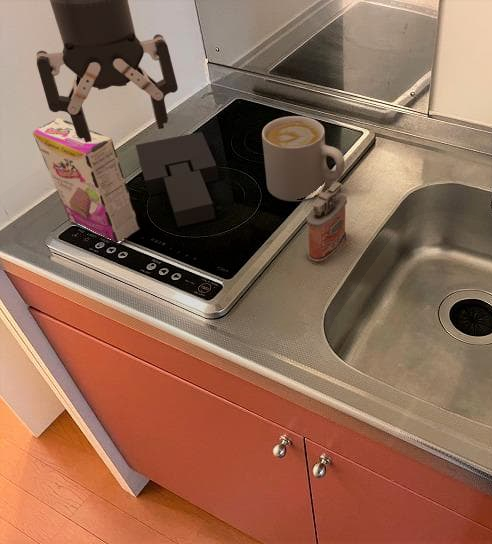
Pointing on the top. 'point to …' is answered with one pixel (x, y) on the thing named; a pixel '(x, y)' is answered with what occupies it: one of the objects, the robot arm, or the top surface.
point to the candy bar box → (88, 179)
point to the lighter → (327, 225)
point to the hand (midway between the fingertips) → (124, 132)
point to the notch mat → (175, 159)
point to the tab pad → (188, 195)
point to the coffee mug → (297, 157)
